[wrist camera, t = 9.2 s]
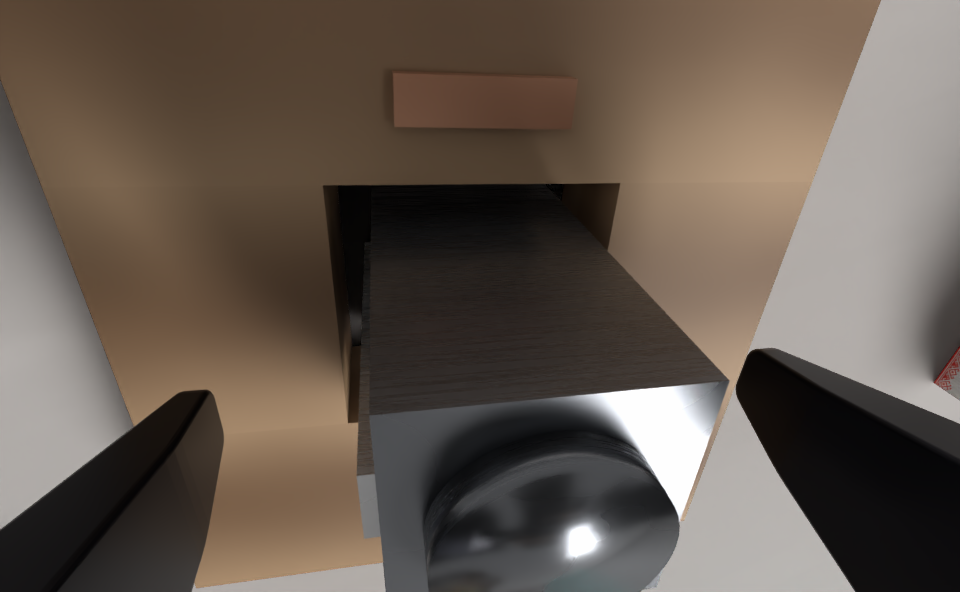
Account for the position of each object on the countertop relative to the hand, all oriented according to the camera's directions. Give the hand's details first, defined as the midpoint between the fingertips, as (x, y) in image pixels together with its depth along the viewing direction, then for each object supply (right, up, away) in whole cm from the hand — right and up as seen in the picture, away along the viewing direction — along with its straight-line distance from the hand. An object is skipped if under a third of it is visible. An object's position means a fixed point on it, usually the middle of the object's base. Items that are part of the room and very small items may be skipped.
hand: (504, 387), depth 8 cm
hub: (-1, +3, +5) cm, 6 cm away
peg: (-1, +3, +5) cm, 6 cm away
